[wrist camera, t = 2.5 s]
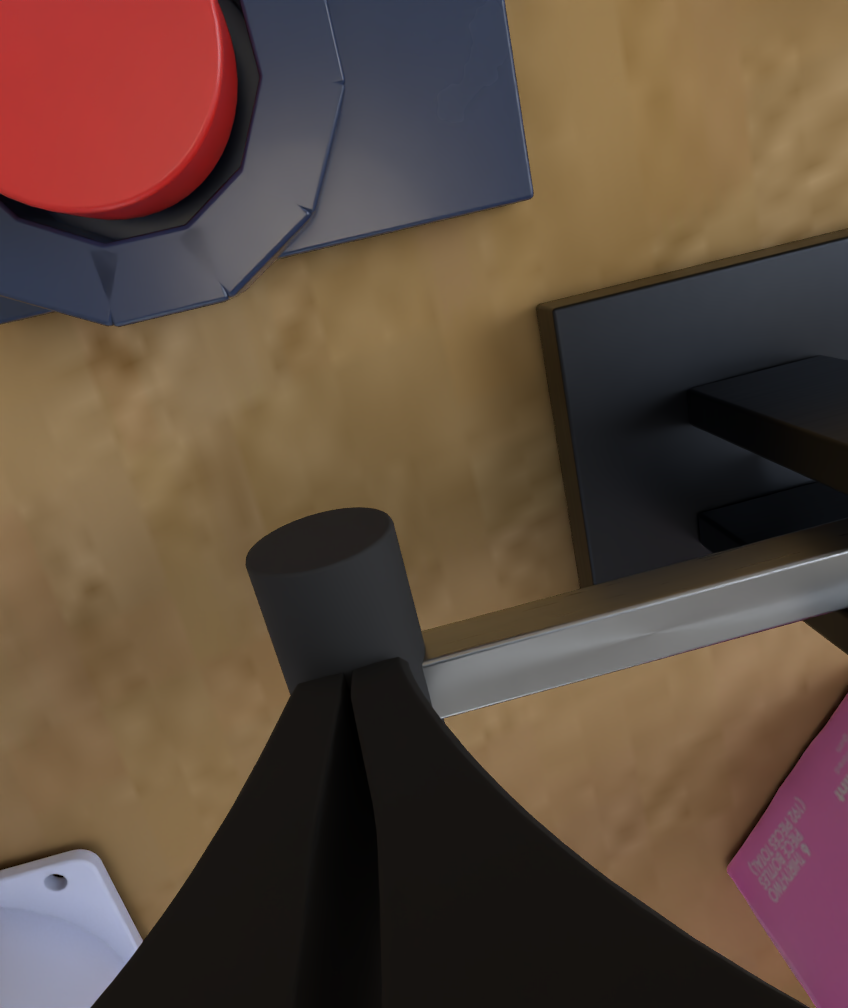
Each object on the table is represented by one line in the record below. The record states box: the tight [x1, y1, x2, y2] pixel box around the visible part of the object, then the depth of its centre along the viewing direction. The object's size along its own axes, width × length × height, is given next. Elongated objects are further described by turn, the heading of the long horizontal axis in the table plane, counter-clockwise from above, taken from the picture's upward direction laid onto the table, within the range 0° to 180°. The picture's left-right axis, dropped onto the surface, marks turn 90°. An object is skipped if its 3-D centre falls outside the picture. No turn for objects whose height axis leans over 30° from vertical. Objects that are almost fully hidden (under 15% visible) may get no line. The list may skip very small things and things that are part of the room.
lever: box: [246, 508, 848, 723], centre depth 10 cm, size 11×5×2 cm, turn 102°
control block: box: [0, 0, 534, 327], centre depth 11 cm, size 10×7×3 cm
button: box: [0, 0, 238, 220], centre depth 9 cm, size 4×4×2 cm
